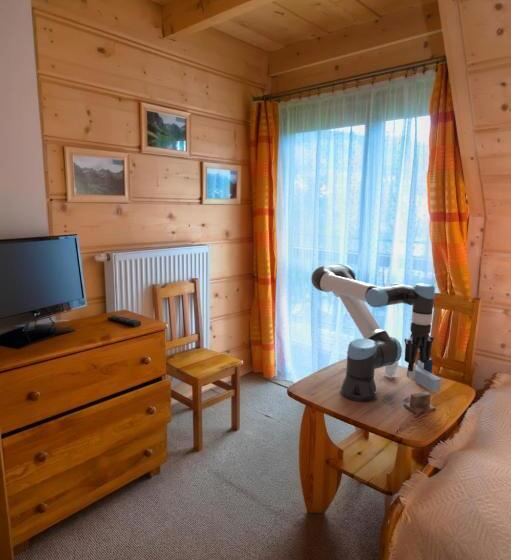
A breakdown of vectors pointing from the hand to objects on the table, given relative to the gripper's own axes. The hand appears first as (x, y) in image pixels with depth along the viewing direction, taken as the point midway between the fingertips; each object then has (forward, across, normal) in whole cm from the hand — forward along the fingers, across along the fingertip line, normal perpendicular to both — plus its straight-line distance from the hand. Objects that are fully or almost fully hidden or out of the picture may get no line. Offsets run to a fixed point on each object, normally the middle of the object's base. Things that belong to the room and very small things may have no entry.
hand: (415, 377), depth 175 cm
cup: (+12, -10, -27) cm, 31 cm away
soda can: (+12, -20, -15) cm, 28 cm away
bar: (+1, 0, +4) cm, 4 cm away
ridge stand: (+12, 0, +4) cm, 12 cm away
